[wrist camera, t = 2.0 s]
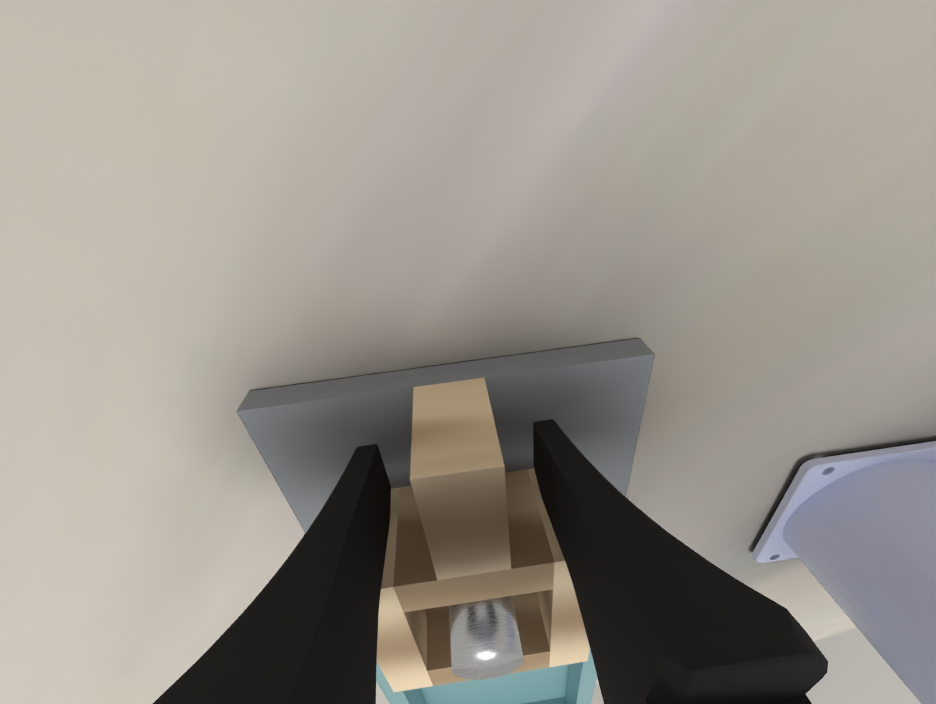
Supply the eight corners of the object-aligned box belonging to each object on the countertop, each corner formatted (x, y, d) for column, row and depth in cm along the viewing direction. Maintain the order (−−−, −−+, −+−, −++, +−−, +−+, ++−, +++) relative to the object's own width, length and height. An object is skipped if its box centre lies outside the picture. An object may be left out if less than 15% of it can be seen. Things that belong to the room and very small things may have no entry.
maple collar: (561, 573, 19) (587, 661, 16) (398, 598, 18) (393, 692, 15) (576, 364, 12) (626, 448, 9) (318, 400, 12) (283, 498, 9)
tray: (590, 573, 21) (608, 625, 19) (573, 686, 30) (584, 729, 28) (371, 607, 20) (365, 663, 18) (422, 710, 30) (422, 756, 27)
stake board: (600, 562, 20) (651, 692, 16) (358, 599, 20) (338, 744, 15) (639, 338, 13) (758, 463, 8) (249, 390, 12) (146, 552, 8)
